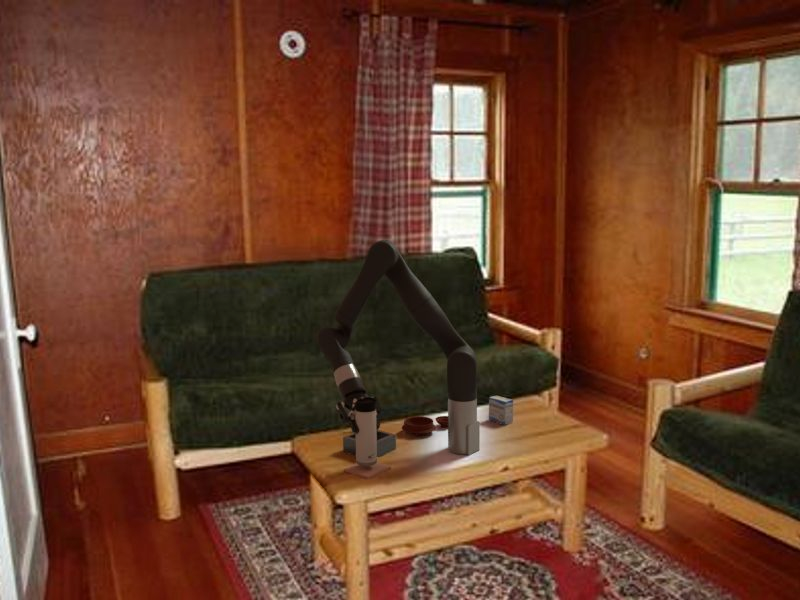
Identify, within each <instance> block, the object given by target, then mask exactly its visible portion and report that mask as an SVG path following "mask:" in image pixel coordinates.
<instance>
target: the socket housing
mask: <svg viewBox="0 0 800 600" xmlns="http://www.w3.org/2000/svg"><path fill="white" fill-rule="evenodd" d="M342 449H343V450H342V452H343V453H345V452H346V453H345V454H348V453H350V454H349V455H352V454H353V455H352V456H355V455H356V434H355V433H353V432H352V433H350V434H347V435H344V436H342ZM395 449H396V450H397V435H396V434H395V433H391V432H388V431H385V430H380V429H378V430H377V457H378V458H380V457H382V456H384V454H385V455H387V454H389V453H391V452H393V450H394V451H396V450H395ZM386 453H387V454H386Z"/></svg>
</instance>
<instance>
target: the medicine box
mask: <svg viewBox="0 0 800 600" xmlns="http://www.w3.org/2000/svg"><path fill="white" fill-rule="evenodd" d="M489 420H490V422H492V421H494V422H493V423H496V422H498V423H497V424H499V423H501V424H500V425H503V424H505V425H504V426H507V425H506V424H508V425H510V424H509V423H511V422H513V423H514V399H511V398H507V397H502V396H499V395H493V396H490V397H489V398H488V421H489ZM511 424H512V423H511Z"/></svg>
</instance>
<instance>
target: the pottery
mask: <svg viewBox="0 0 800 600" xmlns="http://www.w3.org/2000/svg"><path fill="white" fill-rule="evenodd" d="M435 422H437V424H438V425H439V426H440V428H441V429H448V415H441V416H436V418H435ZM436 429H437V427H436V425H435V424H434V420H433V418H431V417H428V416H419V415H418V416H411V417H407V418H405V419H404V420H403V425H402V426H401V430H402V431H403V432H406V433H409V434H410V435H411V436H415V435H416V436H415V437H417V436H418V437H419V436H420V437H421V436H425V435H426V436H427V434H428V433H432V432H434V431H435V430H436Z"/></svg>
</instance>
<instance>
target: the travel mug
mask: <svg viewBox="0 0 800 600" xmlns="http://www.w3.org/2000/svg"><path fill="white" fill-rule="evenodd" d="M373 397H374V396H370V397H367V398H361V399H358V400H357V401H356V402H355V416H354V420H356V423H357V426H358V428H359V432H358V434H356V456H355V458H356V459H355V462H356V463H357V464H358V465H360V466H372V465H374V464H376V463H377V462H378V458H377V429H376V402H377V398H373ZM356 463H355V464H356Z"/></svg>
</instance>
